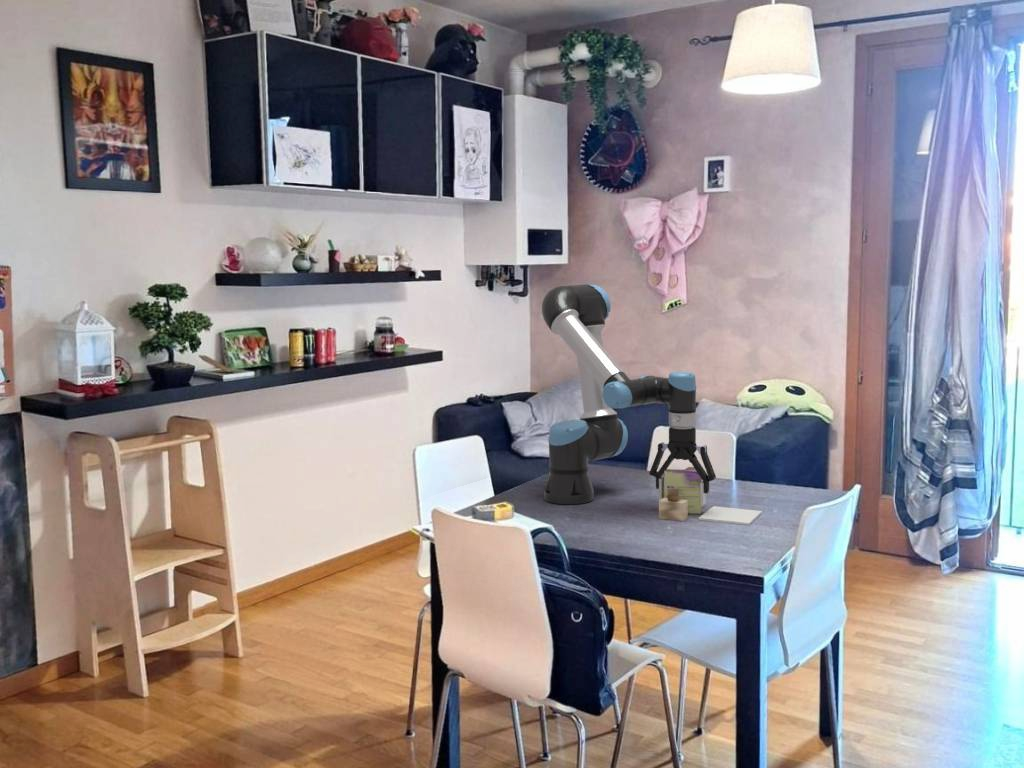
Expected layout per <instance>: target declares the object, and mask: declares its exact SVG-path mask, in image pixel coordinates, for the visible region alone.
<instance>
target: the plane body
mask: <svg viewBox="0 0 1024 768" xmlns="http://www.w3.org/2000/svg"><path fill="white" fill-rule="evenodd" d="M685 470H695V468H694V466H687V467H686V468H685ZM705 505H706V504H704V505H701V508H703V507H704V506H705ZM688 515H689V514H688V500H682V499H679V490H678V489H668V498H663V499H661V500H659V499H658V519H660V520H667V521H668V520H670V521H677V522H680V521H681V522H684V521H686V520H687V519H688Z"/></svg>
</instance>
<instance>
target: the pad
mask: <svg viewBox="0 0 1024 768" xmlns="http://www.w3.org/2000/svg"><path fill="white" fill-rule="evenodd" d="M762 514H763V511H762V510H755V509H754V510H753V509H745V508H736V507H735V508H733V507H726V506H715V505H714V506H712V507H711V508H709V509H708V510H707V511H705V513H703V514H701V515H700V516H699V517H698V521H704V522H714V523H724V524H730V525H731V524H733V525H742V526H750V525H751V524H753V523H754V521H755V520H756V519H758V518H759V517H760V516H761V515H762Z"/></svg>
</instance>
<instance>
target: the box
mask: <svg viewBox="0 0 1024 768" xmlns="http://www.w3.org/2000/svg"><path fill="white" fill-rule="evenodd" d="M663 477H664V498H668V489H678V490H679V499H682V500H688V515H690V514H694V515H702V507H701V505H700V482H702V479H701V477H700V476H699V474H698V473H697V471H696V470H686V469H678V468H677V469H668V468H667V469H666V470H664V474H663Z"/></svg>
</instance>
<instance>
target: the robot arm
mask: <svg viewBox="0 0 1024 768" xmlns="http://www.w3.org/2000/svg"><path fill="white" fill-rule="evenodd" d="M610 312H611V300H610V297H609V295H608V293H607V292H606V291H605V290H604V289H603V288H602V287H600V286H599V285H597V284H587V283H585V284H577V285H576V284H575V285H574V284H573V285H558V286H555V287H553V288H551V289H550V290H549V291H548V292H546V294H545V296H544V297H543V300H542V302H541V314H542V318H543V321H544V322H545V325H547V328H549V330H550V331H551V332H552V333H553V334H554V335H557V336H560V338H561V339H562V340H563V341H564V343H565V344H566V345H567V346H568V347H569V349H570V350H571V351H572V352H573V353H574V355H575V356H576V363H577V370H578V377H579V385H580V393H581V398H582V399H581V400H582V406H583V413H582V414H581V416H580V417H579V419H569V420H567V419H565V420H561V421H558V422H556V423H554V424H552V425H551V426H550V428H549V430H548V431H549V432H548V438H547V440H548V453H549V454H548V456H549V457H548V459H549V460H548V461H549V463H548V465H549V466H548V467H549V475H548V478H547V482H546V484H545V488H544V491H543V492H544V493H543V498H544V501H545V502H548V503H551V504H556V505H579V504H586V503H590V502H593V500H594V499H595V490H594V488H593V484H592V481H591V478H590V474H589V462H592V461H596V460H603V459H611V458H612V457H615V456H618V455H620V454H622V452H623V451H624V449H626V447H627V444H628V441H629V440H628V439H629V434H628V433H629V432H628V428H627V426H626V424H624V421H623V420H622V419H619V418H618V413H617V411H615V410H614V409H626V408H630V407H637V406H645V405H651V404H663V405H668V426H669V428H668V443H664V442H660V443H658V444H657V452H656V455H655V458H654V460H653V463H652V465H651V467H650V470H649V473H648V474H649V475H650V476H652V477H654V478H655V487H656V489H657V490H658V501H659V500H661V499H663V498H664V470H666V469H668V468H669V467H670V465H671V464H672V462H673V461H674V460H678V461H679V460H683V461H687V460H688V461H689V463H691V465H692V467H694V468H695V470H696V471H697V473H698V474H699V476H700V477H701V482H700V505H704V504H705V505H706V504H707V494H709V492H710V483H711V482H713V481H714V480H716V479H717V476H716V473H715V470H714V468H713V464H712V463H711V460H710V457H709V454H708V446H707V445H697V443H696V442H697V441H696V440H697V437H696V436H697V434H696V433H697V432H696V431H697V430H696V424H697V420H696V418H697V417H696V416H697V415H696V414H697V413H696V404H697V403H696V397H697V383H696V375H695V373H693V372H691V371H671V372H670V373H669V374H668V377H663V376H662V377H661V376H655V375H642V376H640V377H639V378H635V379H631V378H629V376H627V374H626V373H625V372H624V371H623V369H621V367H620V366H619V365H618V364H617V362H616V361H615V360H614V359H613V358H612V357H611V355H610V354H609V352H608V351H607V350H606V349H605V348H604V342H603V338H602V337H603V336H602V331H603V330H604V328H605V327H606V321H605V320H606V319H608V317H609V315H610ZM667 449H668V451H669V453H670V454H669V455H668V457H667V459H666V460H665V461H664V463H663V464H662V466H661V467H660V468H659V466H660V464H661V461H662V458H663V456H664V453H665V451H666V450H667ZM696 452H698V453H699V454H700V459H701V460H702V463H703V466H702V464H701V463H700V461H699V459H698V457H697V456H696V454H695V453H696ZM658 469H659V470H658ZM705 505H704V506H705Z"/></svg>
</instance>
